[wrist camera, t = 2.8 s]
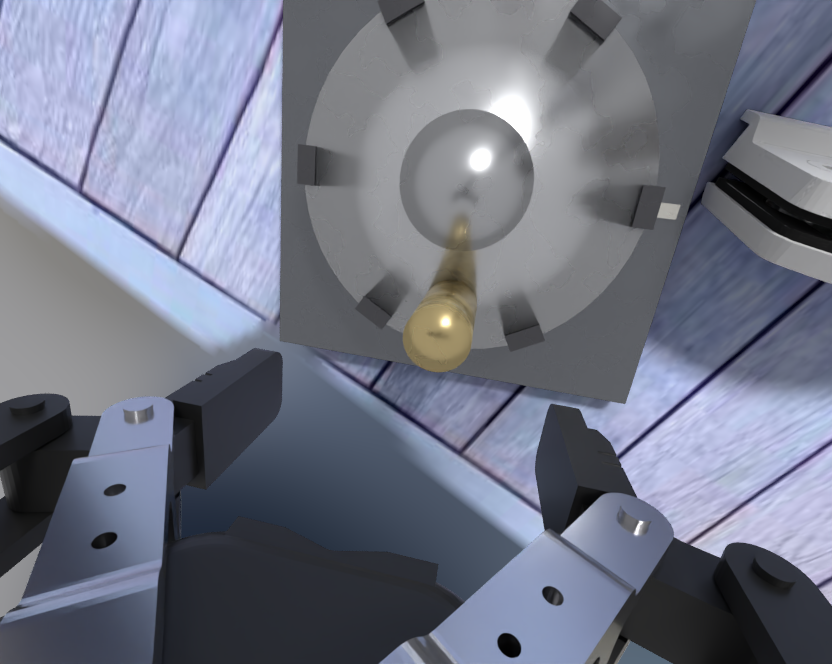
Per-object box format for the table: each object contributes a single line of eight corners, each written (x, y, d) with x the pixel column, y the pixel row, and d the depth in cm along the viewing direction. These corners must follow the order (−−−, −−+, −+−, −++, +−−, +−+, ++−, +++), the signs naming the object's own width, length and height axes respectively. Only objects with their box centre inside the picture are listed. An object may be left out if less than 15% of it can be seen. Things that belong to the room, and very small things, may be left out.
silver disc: (327, -10, 22) (227, -134, 14) (692, 14, 20) (837, -118, 12) (314, 308, 28) (239, 355, 20) (595, 355, 26) (644, 432, 18)
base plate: (755, -39, 20) (775, -58, 19) (618, 393, 28) (625, 404, 27) (296, -62, 23) (283, -80, 22) (289, 334, 31) (279, 341, 30)
